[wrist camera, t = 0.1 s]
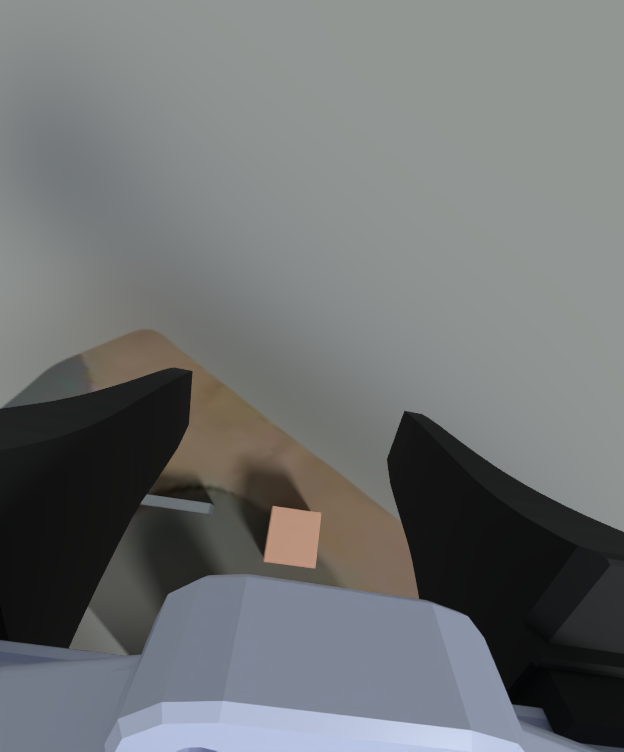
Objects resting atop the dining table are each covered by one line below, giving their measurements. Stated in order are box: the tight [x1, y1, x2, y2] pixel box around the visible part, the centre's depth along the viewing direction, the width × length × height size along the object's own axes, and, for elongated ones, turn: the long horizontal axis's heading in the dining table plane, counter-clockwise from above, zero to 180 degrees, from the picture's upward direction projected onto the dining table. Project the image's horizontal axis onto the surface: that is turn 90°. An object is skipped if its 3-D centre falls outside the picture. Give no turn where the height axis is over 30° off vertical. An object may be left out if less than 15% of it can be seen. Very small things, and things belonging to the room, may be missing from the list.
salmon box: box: [263, 506, 321, 568], centre depth 36 cm, size 5×5×6 cm
